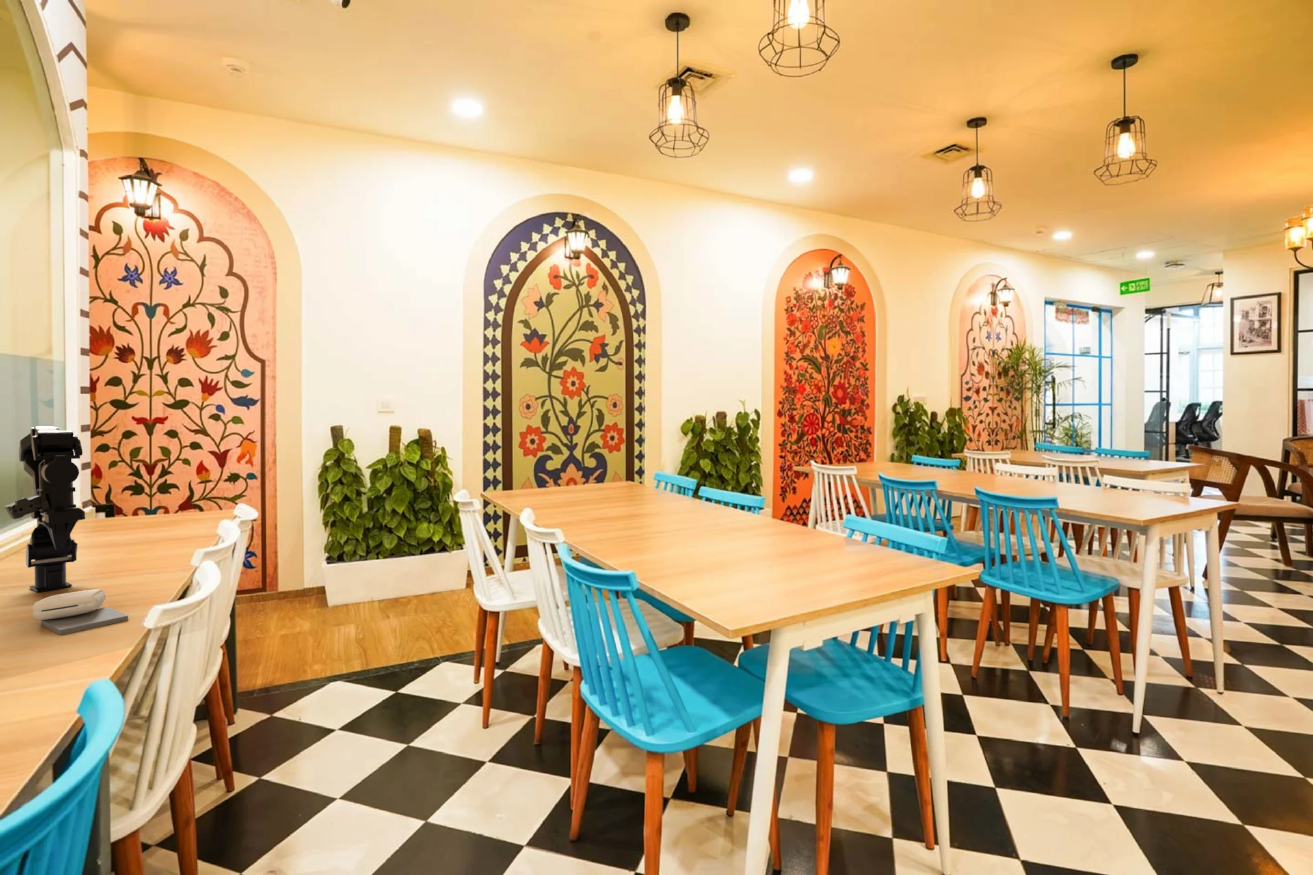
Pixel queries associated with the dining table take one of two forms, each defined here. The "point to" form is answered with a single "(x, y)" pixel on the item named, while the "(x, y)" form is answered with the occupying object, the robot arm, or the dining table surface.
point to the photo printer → (68, 604)
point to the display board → (84, 620)
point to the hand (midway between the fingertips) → (59, 549)
